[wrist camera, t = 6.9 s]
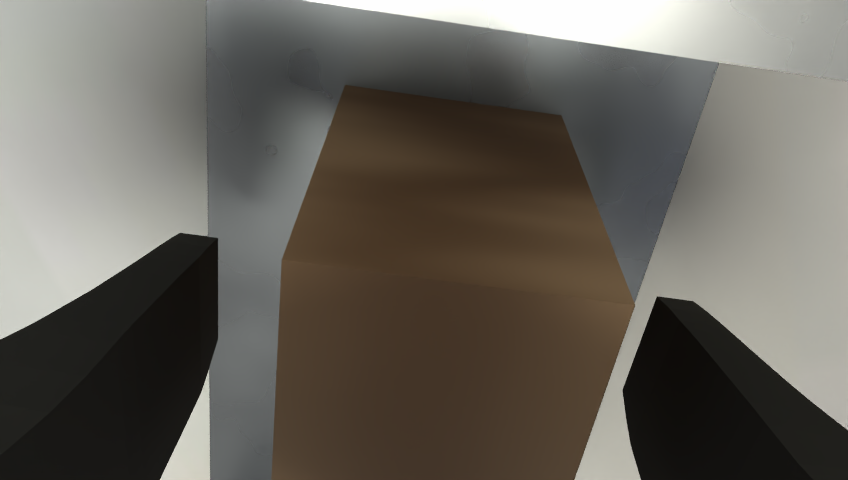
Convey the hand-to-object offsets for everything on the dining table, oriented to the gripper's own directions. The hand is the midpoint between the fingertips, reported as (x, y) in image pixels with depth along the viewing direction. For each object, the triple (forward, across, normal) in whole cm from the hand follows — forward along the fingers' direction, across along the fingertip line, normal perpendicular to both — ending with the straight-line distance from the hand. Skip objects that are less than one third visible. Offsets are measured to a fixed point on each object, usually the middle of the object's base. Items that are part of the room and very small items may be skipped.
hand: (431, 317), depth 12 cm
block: (+3, 0, 0) cm, 3 cm away
